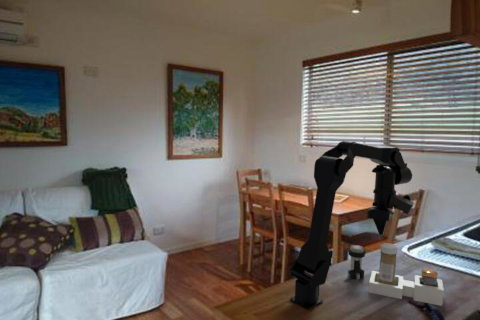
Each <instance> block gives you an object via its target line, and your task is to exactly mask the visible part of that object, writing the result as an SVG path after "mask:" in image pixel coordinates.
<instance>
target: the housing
mask: <svg viewBox="0 0 480 320" xmlns="http://www.w3.org/2000/svg"><path fill="white" fill-rule="evenodd" d="M421 277H422V275H417V274H414V279H413V280H414V281H413V280H408V279H407V280H406V279H404V276H403V275H398V274H395V282H394V285H389V284H384V283H379V271H377V270H376V271H375V270H371V274H370V278H369V282H368V283H369V284H368V293H369V294H375V295H379V296H385V297H390V298H395V299H400V300H402V299H403V296H404V297H408V298H411V299H412V298H413V301H414V302H415V301H416V302H421V303H426V304H430V305H434V306H435V305H436V306H440V307H443V303H444V291H445V290H444V284H443V280H442V279H440V278H437V282H436V287H433V286H428V285H423V284H421Z"/></svg>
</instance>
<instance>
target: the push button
mask: <svg viewBox="0 0 480 320" xmlns="http://www.w3.org/2000/svg"><path fill="white" fill-rule="evenodd" d="M347 251H348V255H349V256H350V267H349V269H347V273H346V274H344V276H345V277H343V278H344V279H349V280H351V281H354V280H360V279H361V280H364V278H365V270H364V269H362V268H363V267H362V263H363V260H362V259H363V258H364V257H366V254H367V253H366V252H367V251H366V249H364V247H363V246H361V245H356V244H353V245H351V246H350V247H348V249H347Z"/></svg>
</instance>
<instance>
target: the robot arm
mask: <svg viewBox="0 0 480 320" xmlns="http://www.w3.org/2000/svg"><path fill="white" fill-rule="evenodd" d="M342 156H345V157H344V158H341V157H342ZM356 157H358V158H359V157H360V158H365V159H369V160H370V161H371V162H372V163H375V164H376V166H375V167H374V168H372V170H371V172H372V173H375V179H374V189H373V191H372V192H373V194H374V195H373V202H372V204H371V206H372V207H370V208H369V209H368V210H367V214H366V218H367V219H371V220H373V222H374V225H375V227H376V230H377V232H378V235H380V236H384V232H385V230H386V226H387V224H388V222H389V221H390V220H391V219H392V217H393V215H394V214H395V212H394V211H392V210H398V211H401V212H403V214H406V215H409V214H410V211H411V210H412V208H413V206H414V205H415V203H414V201H413V200H412V197H411V195H409V194H406V193H405V194H404V195H398V194H397V190H396V189H395V188H396V187H395V186H398V185H403V184H407V183H410V181H411V180H412V178H413V174H412V171H411V169H410V168H409V167H408V163H406V162H405V160H404V158H403V155H402V152H401V151H400V148H399V147H398V146H397V147H396V146H395V147H394V146H387V145H386V146H385V145H373V146H372V145H368V144H363V143H357V142H356V141H350V140H342V141H340V142H338V144H337V145H336V146H334V147H332V148H330V149H329V150H326V151H325V152H324V153H323V154H322V155H321V156H319V158H318V159H316V160H315V162H314V168H313V179H314V182H315V185H316V194H315V199H314V204H313V205H314V206H313V210H312V211H313V212H312V216H311V223H310V227H309V233H308V237H307V240H306V241H305V242H304V243H303V245H302V246H301V247H300V251H299V253H298V256H297V258H296V259H295V261H294V262H293V263H292V265H291V266H290V268H289V274H290V277H293V278H295V279H296V280H295V283H294V284H295V286H294V287H295V288H294V296H292V297H290V299H289V301H292V302H293V303H295V304H297V305H299V306H300V307H303V308H304V309H306V310H310V309H312V308H314V307H317V306H318V305H320V304H322V303H324V300H323V299H322V298H320V286H323V285H324V284H326V280H327V277H328V273H329V271H330V267H331V266H332V259H333V256H334V252H333V250H332V249H329V247H328V244H327V243H328V237H329V232H330V225H331V221H332V215H333V210H334V205H335V197H336V193H337V190H339V189H340V188H341V186H342V184H344V182H345V179H346V177H347V176H346V175H347V173H348V172H349V171H350V170H351V169H352V168H353V166H354V162H355V158H356Z"/></svg>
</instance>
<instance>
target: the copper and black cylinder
mask: <svg viewBox="0 0 480 320" xmlns="http://www.w3.org/2000/svg"><path fill="white" fill-rule="evenodd" d="M438 275H439V273H438V272H437V271H436V270H434V269H430V268H429V269H428V268H424V269H423V268H422V269H421V276H422V277H421V284H423V285H428V286H433V287H436V282H437V279H438Z"/></svg>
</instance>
